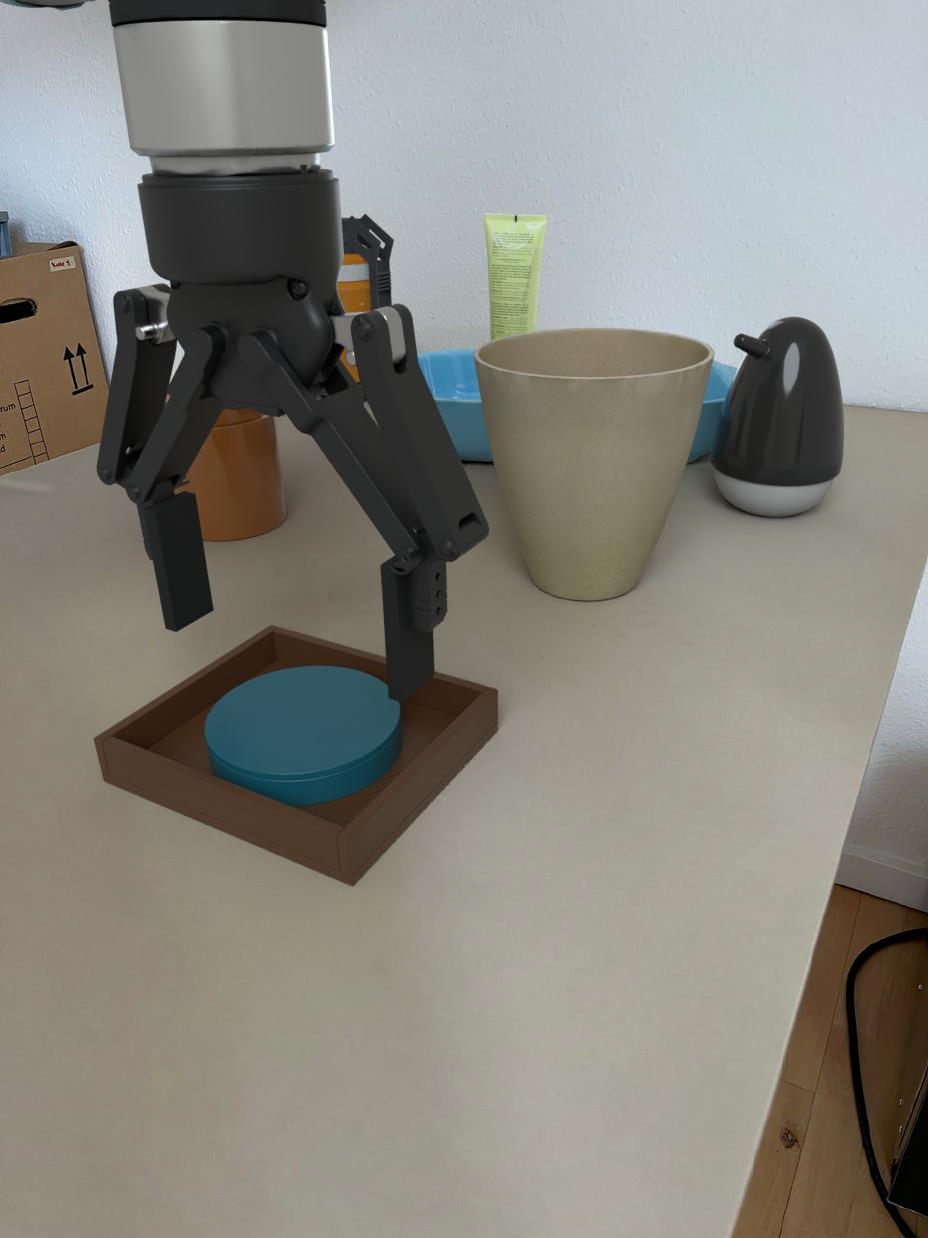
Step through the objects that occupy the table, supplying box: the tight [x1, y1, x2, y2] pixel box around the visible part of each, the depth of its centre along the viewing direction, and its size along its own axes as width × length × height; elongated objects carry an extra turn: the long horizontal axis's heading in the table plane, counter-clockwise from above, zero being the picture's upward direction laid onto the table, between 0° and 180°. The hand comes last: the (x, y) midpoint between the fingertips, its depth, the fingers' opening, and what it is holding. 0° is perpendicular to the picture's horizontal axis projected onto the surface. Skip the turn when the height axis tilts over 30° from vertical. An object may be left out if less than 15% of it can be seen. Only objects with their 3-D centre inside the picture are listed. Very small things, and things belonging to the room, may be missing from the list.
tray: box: [93, 624, 499, 887], centre depth 48 cm, size 15×13×3 cm
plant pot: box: [474, 327, 716, 602], centre depth 63 cm, size 15×15×16 cm
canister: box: [320, 213, 395, 400], centre depth 108 cm, size 9×11×20 cm
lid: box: [204, 666, 402, 806], centre depth 48 cm, size 10×10×2 cm
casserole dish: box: [417, 348, 738, 464], centre depth 93 cm, size 37×22×7 cm, turn 85°
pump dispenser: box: [709, 316, 845, 518], centre depth 74 cm, size 10×10×15 cm
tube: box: [483, 212, 548, 341], centre depth 110 cm, size 6×5×20 cm
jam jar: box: [164, 393, 287, 542], centre depth 75 cm, size 9×9×11 cm
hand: (293, 651), depth 45 cm, fingers open, 13 cm apart
